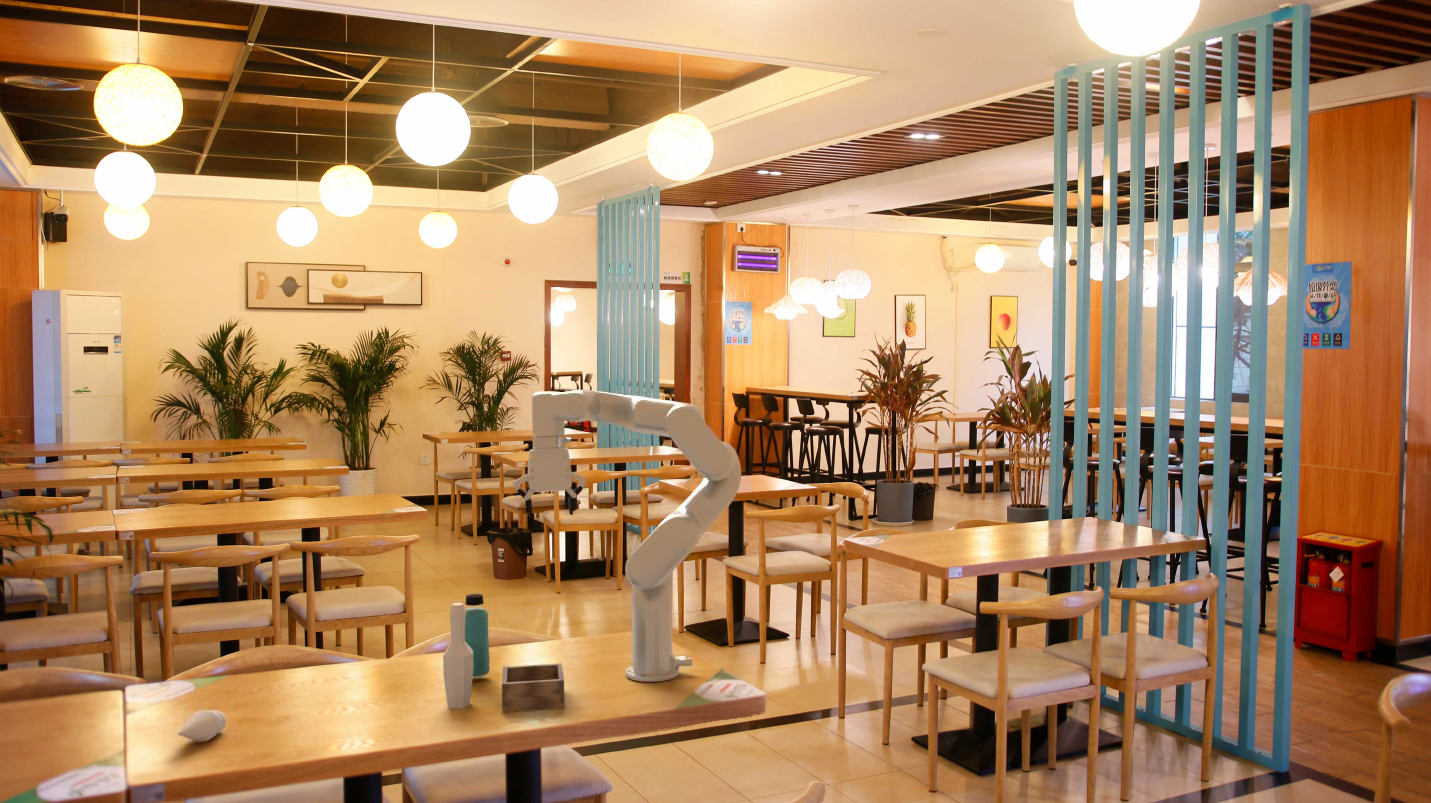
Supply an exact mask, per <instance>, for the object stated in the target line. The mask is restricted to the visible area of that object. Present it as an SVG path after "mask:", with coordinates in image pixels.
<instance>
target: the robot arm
mask: <svg viewBox="0 0 1431 803" xmlns="http://www.w3.org/2000/svg"><path fill="white" fill-rule="evenodd" d="M531 419H532V420H531V425H532V449H529V453H528V461H527V462H528V463H527V474H524V475H523V476H521V477H519V478H517V479H515V480H514V481H512V485H513V487H514V488H515V491H516V493H517V494H518V495H519V496H520V497H521V498H523V499H524V500H525V501H524V505H525V506H524V507H525V508H524V509H525V510H524V511H525V514H527V515H528V518H532V517H533V506H532V505H533V500H532V499H531V497H532V496H533V494H534V493H537V492H538V493H542V492H545V493H546V492H548V493H549V492H563V491H566V492H567V493H568V494H569V497H568V514H569V515H570V516H573V515H574V512H576V509H577V508H576V498H577V497H578V495H579V494H580V493H581V492H582V491H583V489H584V487H585V486H586V483H587V478H586V477H583V476H581V475H579V474H577V473H574V472H573V471H572V467H571V466H572V465H571V460H570V452H569V448H566V446H567V445H568V444H571V443H572V439H571V437H566V436H565V431H566V430H565V422H571V423H581V422H585V421H587V422H595V423H601V424H602V423H603V424H608V425H609V424H610V425H615V426H619V427H623V428H625V429H626V430H628V431H630V432H633V433H638V434H645V435H654V436H659V437H665V438H666V437H667V438H671V440H672V441H673V442H674V444H675V446H676V447H677V448H678V449H679V450H680V452H681V453H682V454H683V455H684V456H685V458H686V459H687V460H688V461H689V463H690V464H691V465H692V467H694V469H695V470H696V471H697V472H698V473H699V475H700V476H701V477H702V478H703V479H702V481H701V482H700V484H699V485H697V487H696V488H695V489H694V490H693V491H692V492H691V493H690V495H689V496H688V497H687V498H686V499H685V500H684V501H683V502H681V504H680V505H679V506H678V507H677V508H676V509H675V510H673V511H672V512H671V513H669V514H668V515H667V516H666V517H665V518H664V519H663V520H662V521H661V522H660V523H659V524H658V526H656V527H655V528H654V529H653V530H652V532H651V533H650V534H648V536H647V537H646V538H645V539H644V540H643V541H642V542H641V543H640V544H639V545H638V546H637V547H636V548H635V549H634V550H633V552H632V553H631V554H630V555H629V556H628V557H627V560H626V562H625V565H624V566H625V567H624V569H625V570H624V572H625V576H626V579H627V580H628V582H629V584H630V585H631V648H632V649H631V650H632V651H631V652H632V653H631V654H632V655H631V659H632V661H631V662H632V665H630V666H629V667H627V668H626V669H625V676H626V677H627V678H629V680H632V681H635V682H644V683H645V682H646V683H654V682H655V683H656V682H658V683H659V682H664V681H669V680H672V679H675V678H677V677H678V676H679V675H680V667H681V666H682V667H692V666H693V658H692V657H686V656H685V655H684V656H676V655H675V654H674V653H673V582H674V581H673V579H674V578H673V577H674V571H675V570H676V568H678V566H679V565H680V564H681V563H682V562H684V560H685V559H686V558H688V556H689V555H690V554H691V553H692V552H693V550H694V549H695V548H696V547H697V546H698V544H699V542H700V541H701V539H702V537H703V535H704V534H705V533H706V532H707V531H708V529H709V528H710V527H712V525H713V524H714V523H715V522H716V521H717V520H718V519H719V517H721V515H722V514H723V513H724V512H725V511H726V510H727V509H728V508H729V506H730V504H732V502H733V501H734V499H735V497H736V496H737V493H738V491H739V488H740V484H741V480H742V467H741V462H740V458H739V456H738V453H737V451H736V450H735V448H734V447H733V446H732V445H731V444H729V443H728V442H725V441H722V440H720V438H719V437H718V436H717V435H716V434H715V432H713V430H712V428H711V427H710V426H708V424H707V422H706V421H705V420H706V419H705V414H704V412H703V410H702V409H701V408H700V407H699V406H697V405H695V404H692V403H687V402H680V401H674V400H667V399H659V398H652V397H647V396H639V395H624V394H619V393H612V392H605V391H599V390H598V391H597V390H591V389H578V390H577V389H574V390H570V391H564V392H560V391H538V392H537V391H536V392H535V393H533V394H532V396H531ZM572 480H575V481H578V482H579V483H578V486H577V487H576V488H575V489H573V488H572V484H573V483H572ZM525 482H527V487H528V488H529V489H528V490H527V491H524V489H522V487H521V485H522V484H523V483H525Z"/></svg>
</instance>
